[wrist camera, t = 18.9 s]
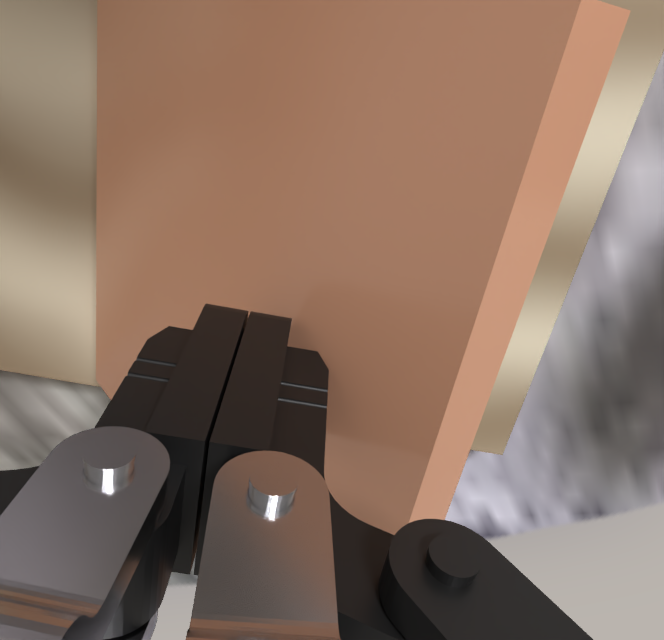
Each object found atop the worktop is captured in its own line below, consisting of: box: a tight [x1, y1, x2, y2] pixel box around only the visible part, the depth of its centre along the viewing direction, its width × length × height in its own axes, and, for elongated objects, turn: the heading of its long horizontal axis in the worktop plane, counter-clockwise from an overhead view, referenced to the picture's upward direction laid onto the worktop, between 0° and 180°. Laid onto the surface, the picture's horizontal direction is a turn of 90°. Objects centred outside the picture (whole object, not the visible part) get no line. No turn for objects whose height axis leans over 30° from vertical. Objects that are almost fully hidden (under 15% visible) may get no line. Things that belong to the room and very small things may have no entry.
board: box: [0, 0, 664, 455], centre depth 18 cm, size 14×26×2 cm, turn 80°
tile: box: [96, 0, 631, 535], centre depth 13 cm, size 12×12×1 cm
